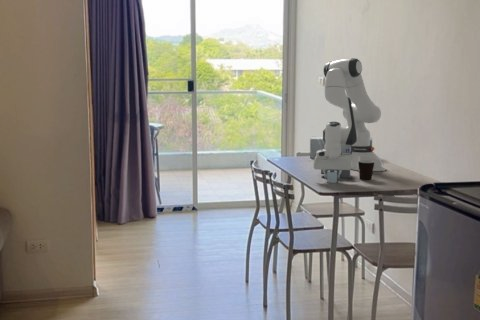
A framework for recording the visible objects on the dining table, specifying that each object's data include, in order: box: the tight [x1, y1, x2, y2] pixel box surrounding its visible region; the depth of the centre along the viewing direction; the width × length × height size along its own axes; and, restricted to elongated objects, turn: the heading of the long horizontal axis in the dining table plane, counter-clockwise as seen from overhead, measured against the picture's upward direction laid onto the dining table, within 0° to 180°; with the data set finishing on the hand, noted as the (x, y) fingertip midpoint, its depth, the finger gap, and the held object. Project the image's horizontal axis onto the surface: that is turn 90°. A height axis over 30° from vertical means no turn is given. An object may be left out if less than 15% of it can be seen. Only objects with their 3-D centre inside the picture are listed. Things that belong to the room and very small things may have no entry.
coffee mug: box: [358, 160, 374, 182], centre depth 320 cm, size 12×9×10 cm
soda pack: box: [309, 136, 373, 159], centre depth 388 cm, size 41×13×14 cm, turn 78°
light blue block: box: [326, 170, 338, 184], centre depth 313 cm, size 5×5×7 cm
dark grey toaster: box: [320, 169, 351, 180], centre depth 328 cm, size 16×11×10 cm
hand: (332, 177), depth 314 cm, fingers closed on light blue block, 5 cm apart
